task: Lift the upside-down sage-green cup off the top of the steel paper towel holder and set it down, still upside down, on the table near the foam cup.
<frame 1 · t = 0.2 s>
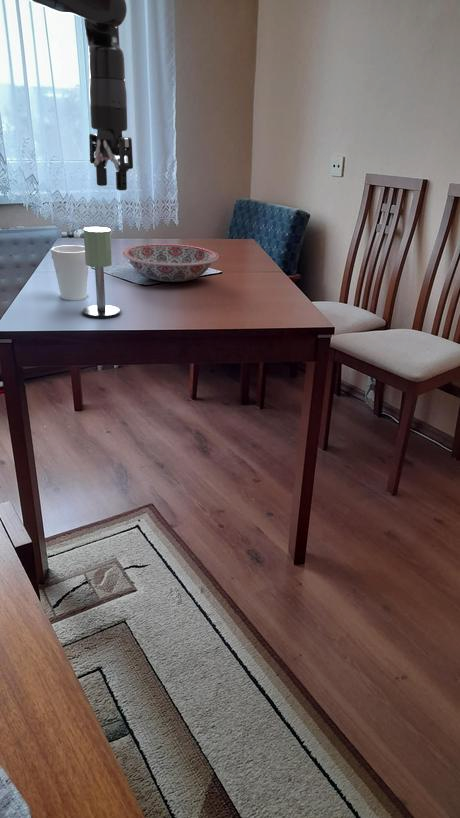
hand: (111, 187, 123), 30 cm above the table, tool pointing down, fingers open, 8 cm apart
towel holder: (101, 314, 137), on the table
ceramic bowl: (170, 280, 172), on the table
green cup: (99, 264, 132), point 12 cm above the table, touching towel holder
foam cup: (74, 299, 149), on the table
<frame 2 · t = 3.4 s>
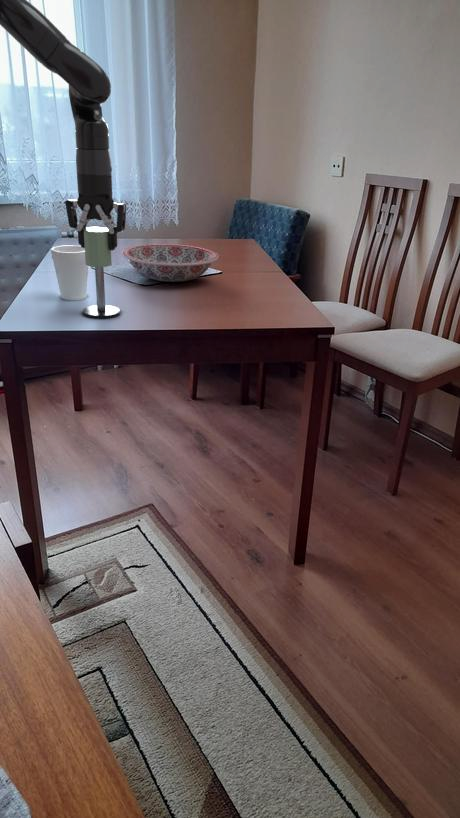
hand: (98, 248, 130), 16 cm above the table, tool pointing down, fingers closed on green cup, 6 cm apart
green cup: (98, 264, 132), point 13 cm above the table, touching gripper, towel holder
everything else where it was.
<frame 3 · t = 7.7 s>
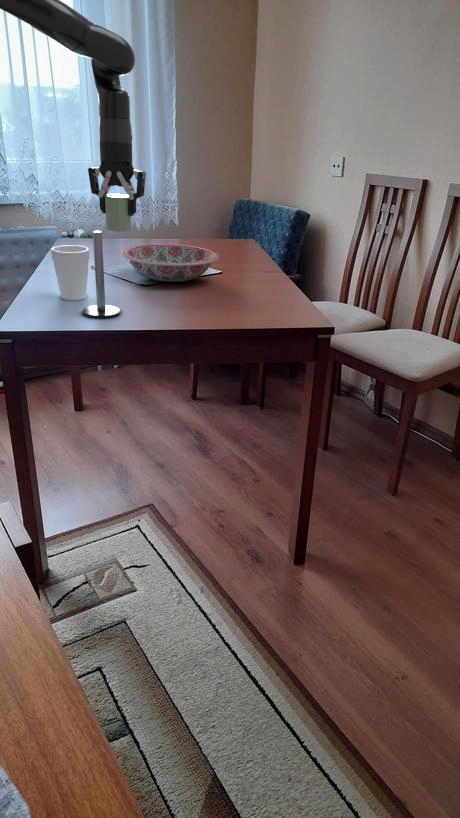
hand: (118, 214, 138), 22 cm above the table, tool pointing down, fingers closed on green cup, 6 cm apart
green cup: (118, 229, 139), point 19 cm above the table, touching gripper
everything else where it was.
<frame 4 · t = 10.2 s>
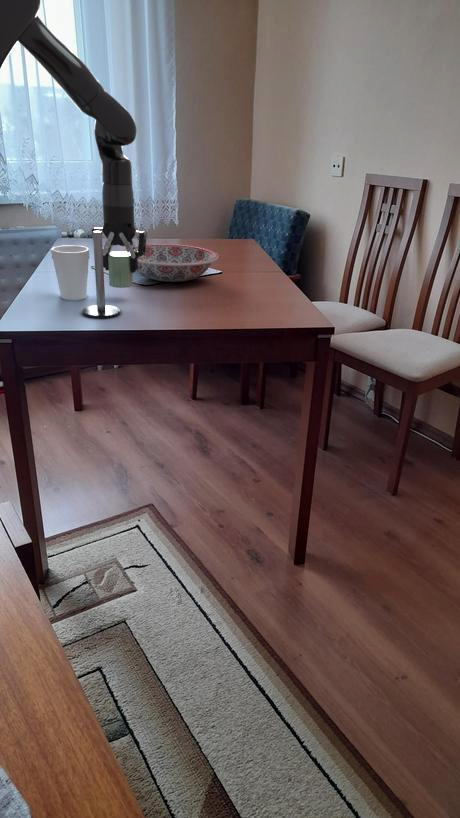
hand: (120, 270, 144), 8 cm above the table, tool pointing down, fingers closed on green cup, 6 cm apart
green cup: (121, 284, 146), point 5 cm above the table, touching gripper
everything else where it was.
when the fingers open (4 cm above the table, at t = 12.1 s): green cup stays where it is, on the table.
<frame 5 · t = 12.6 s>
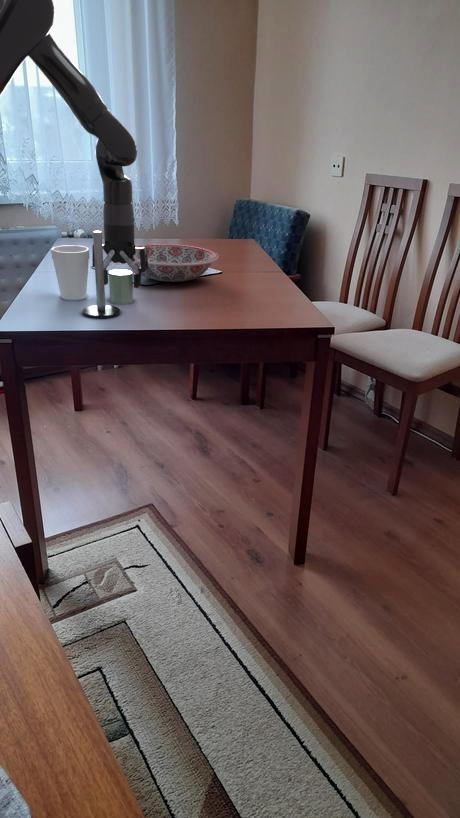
hand: (121, 285, 146), 4 cm above the table, tool pointing down, fingers open, 8 cm apart
green cup: (121, 302, 148), on the table
everything else where it was.
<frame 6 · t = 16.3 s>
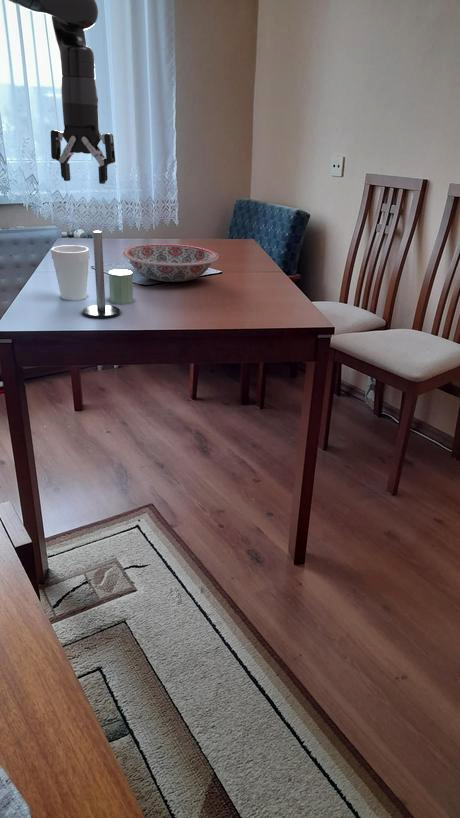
hand: (84, 182, 128), 30 cm above the table, tool pointing down, fingers open, 8 cm apart
nothing on the table moved.
at the end: green cup inside the target area (0.0 cm from its centre), on the table; green cup 13.0 cm from the foam cup (horizontally); green cup tilted 0° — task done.
